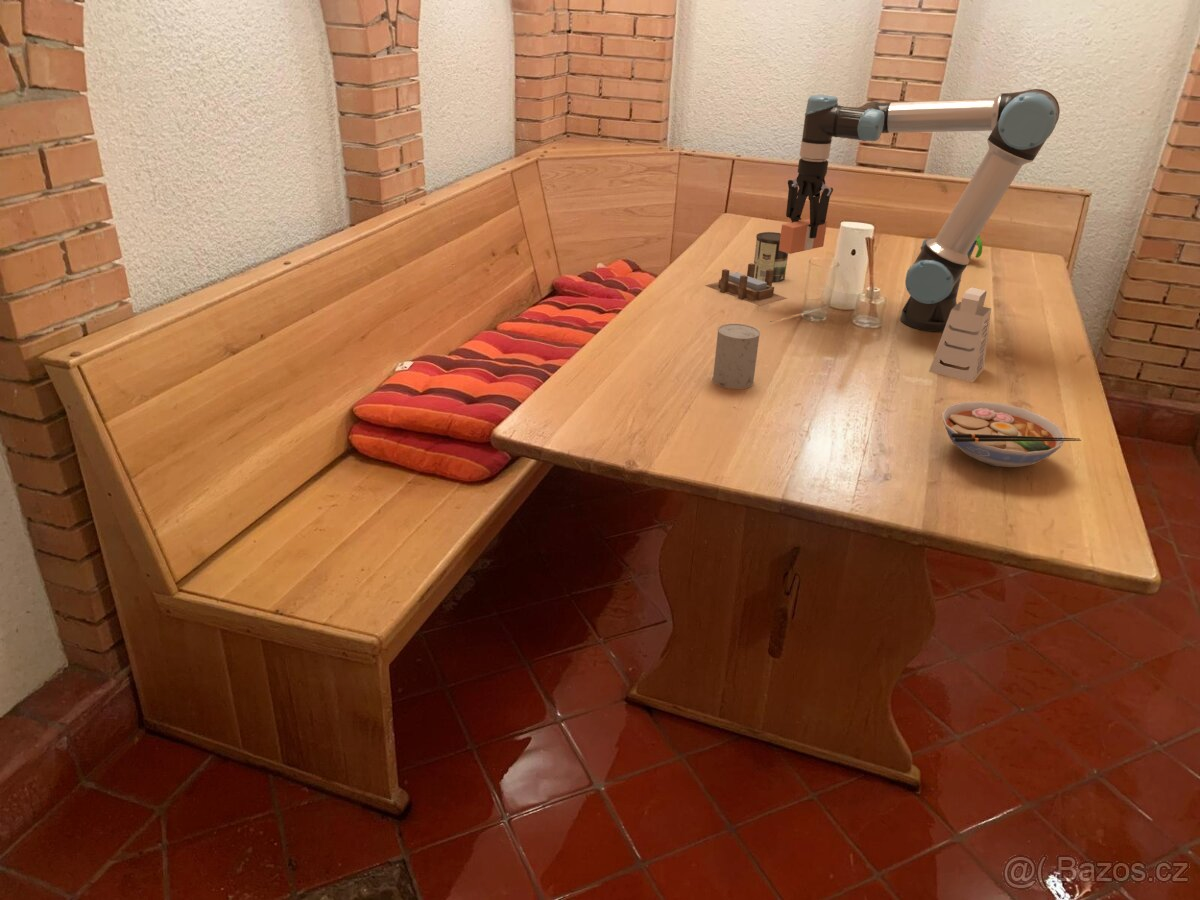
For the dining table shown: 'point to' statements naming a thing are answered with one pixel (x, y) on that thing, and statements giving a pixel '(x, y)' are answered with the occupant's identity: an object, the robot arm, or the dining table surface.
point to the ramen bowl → (1002, 433)
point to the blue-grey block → (748, 281)
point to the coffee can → (769, 257)
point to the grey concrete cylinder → (736, 356)
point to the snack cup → (974, 246)
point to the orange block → (799, 236)
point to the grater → (964, 338)
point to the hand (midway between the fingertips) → (801, 247)
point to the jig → (743, 291)
